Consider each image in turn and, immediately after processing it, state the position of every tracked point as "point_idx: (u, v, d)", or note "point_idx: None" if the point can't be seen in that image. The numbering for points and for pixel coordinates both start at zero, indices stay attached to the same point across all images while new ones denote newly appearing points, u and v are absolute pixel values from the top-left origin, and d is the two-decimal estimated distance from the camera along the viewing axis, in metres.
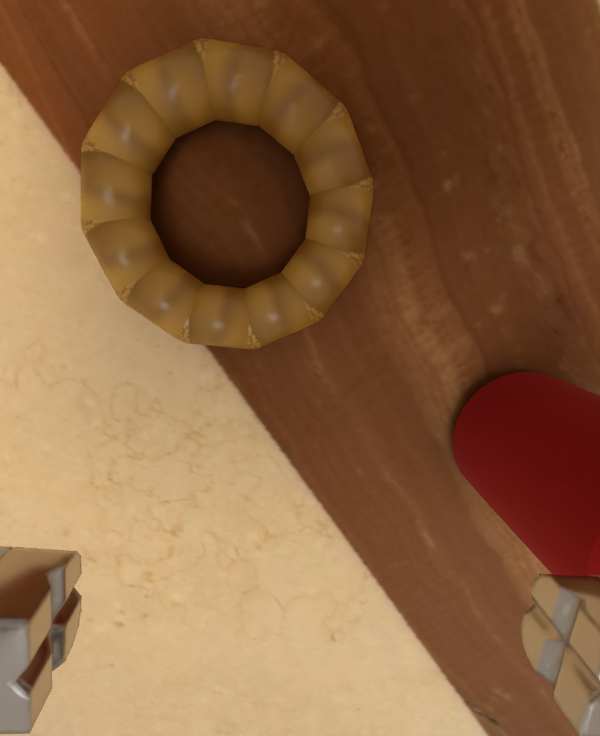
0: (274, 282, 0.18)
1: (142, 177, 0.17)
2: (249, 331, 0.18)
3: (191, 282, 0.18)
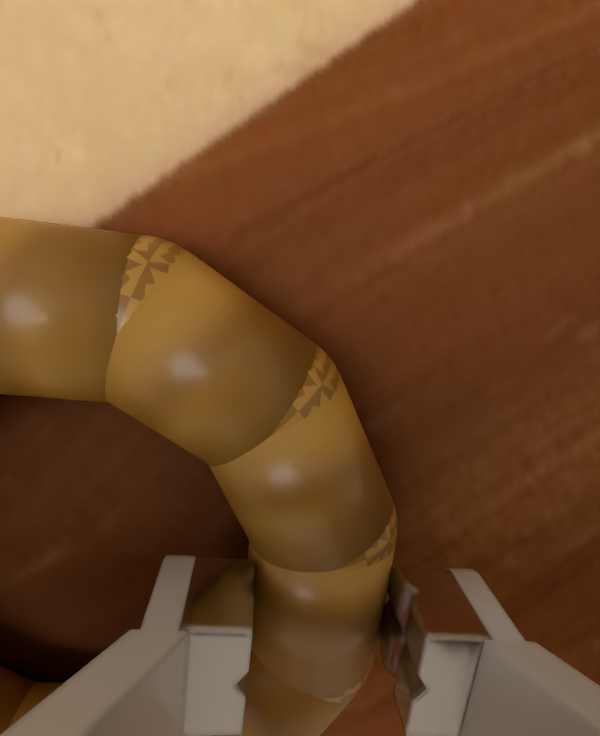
0: None
1: (87, 399, 0.07)
2: None
3: None
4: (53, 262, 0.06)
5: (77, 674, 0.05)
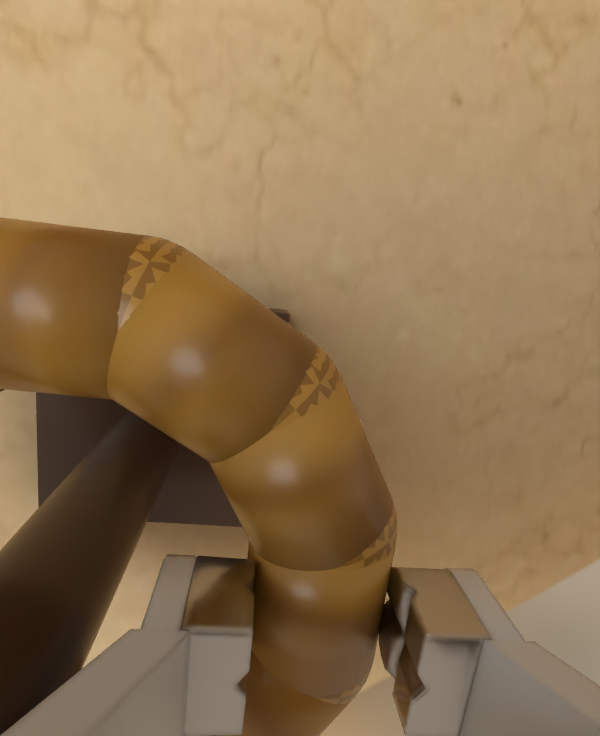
0: None
1: (90, 395, 0.07)
2: None
3: None
4: (58, 262, 0.06)
5: (77, 674, 0.05)
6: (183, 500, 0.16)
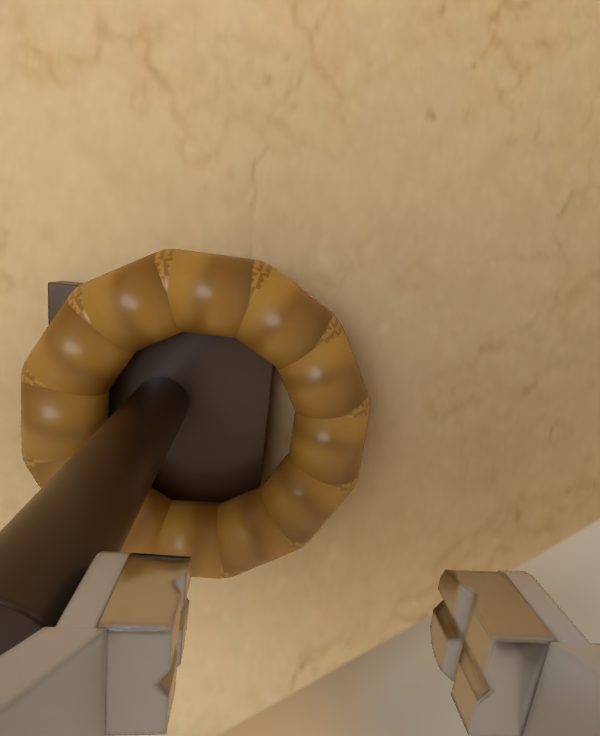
0: None
1: (227, 334, 0.14)
2: (38, 460, 0.14)
3: (102, 384, 0.14)
4: (222, 272, 0.13)
5: None
6: (183, 479, 0.17)
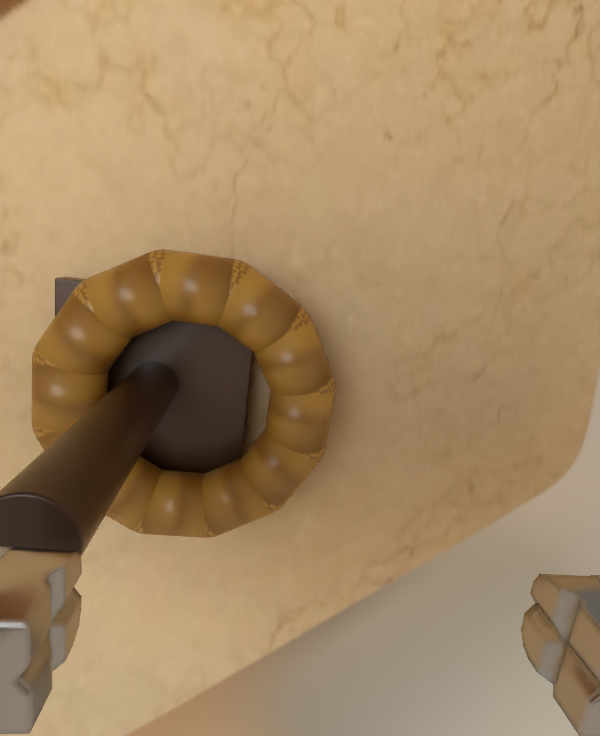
0: None
1: (210, 323, 0.17)
2: (47, 430, 0.16)
3: (103, 365, 0.17)
4: (206, 269, 0.16)
5: None
6: (172, 452, 0.20)
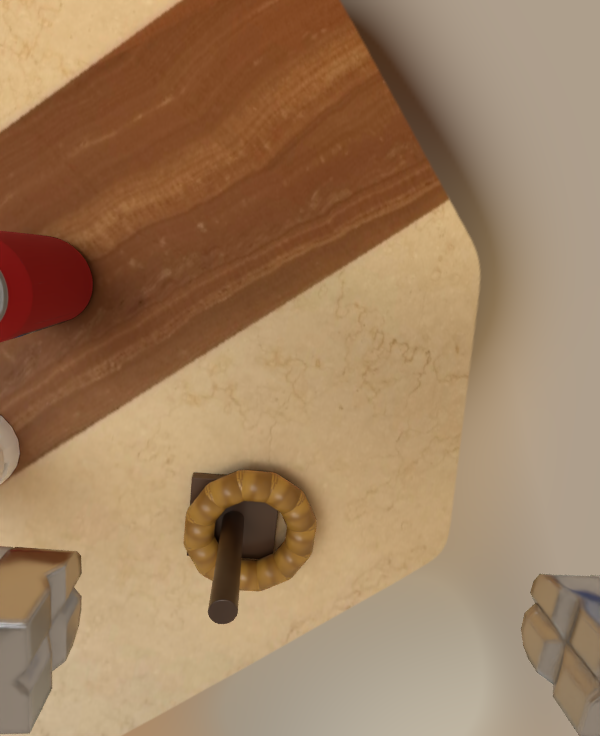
0: (216, 554, 0.39)
1: None
2: (193, 548, 0.39)
3: (215, 520, 0.39)
4: (260, 483, 0.38)
5: None
6: None
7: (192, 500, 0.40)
